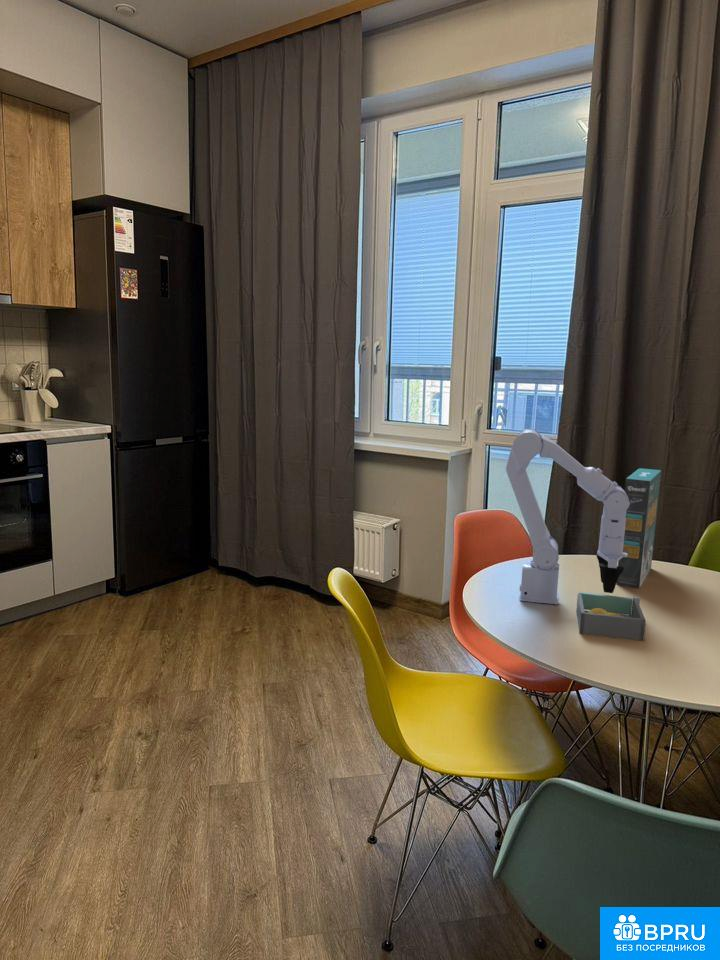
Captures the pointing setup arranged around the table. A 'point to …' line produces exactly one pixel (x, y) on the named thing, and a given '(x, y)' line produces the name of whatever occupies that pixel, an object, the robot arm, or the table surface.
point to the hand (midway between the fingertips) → (606, 587)
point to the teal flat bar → (608, 603)
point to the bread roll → (602, 612)
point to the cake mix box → (639, 526)
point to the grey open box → (611, 623)
